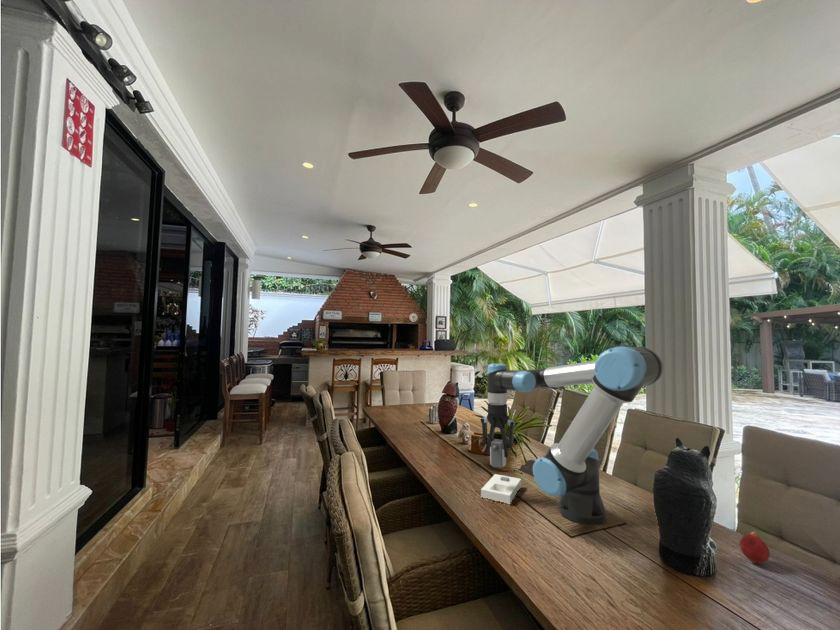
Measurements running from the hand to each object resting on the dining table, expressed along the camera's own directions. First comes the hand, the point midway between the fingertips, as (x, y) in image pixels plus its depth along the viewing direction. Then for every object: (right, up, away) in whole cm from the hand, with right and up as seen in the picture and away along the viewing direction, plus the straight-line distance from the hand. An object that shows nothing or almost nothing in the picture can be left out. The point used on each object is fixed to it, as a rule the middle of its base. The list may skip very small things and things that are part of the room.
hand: (498, 464), depth 134 cm
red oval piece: (+60, -9, -41) cm, 73 cm away
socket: (+2, -12, +2) cm, 13 cm away
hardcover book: (+24, -15, +23) cm, 36 cm away
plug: (0, 0, 0) cm, 0 cm away
